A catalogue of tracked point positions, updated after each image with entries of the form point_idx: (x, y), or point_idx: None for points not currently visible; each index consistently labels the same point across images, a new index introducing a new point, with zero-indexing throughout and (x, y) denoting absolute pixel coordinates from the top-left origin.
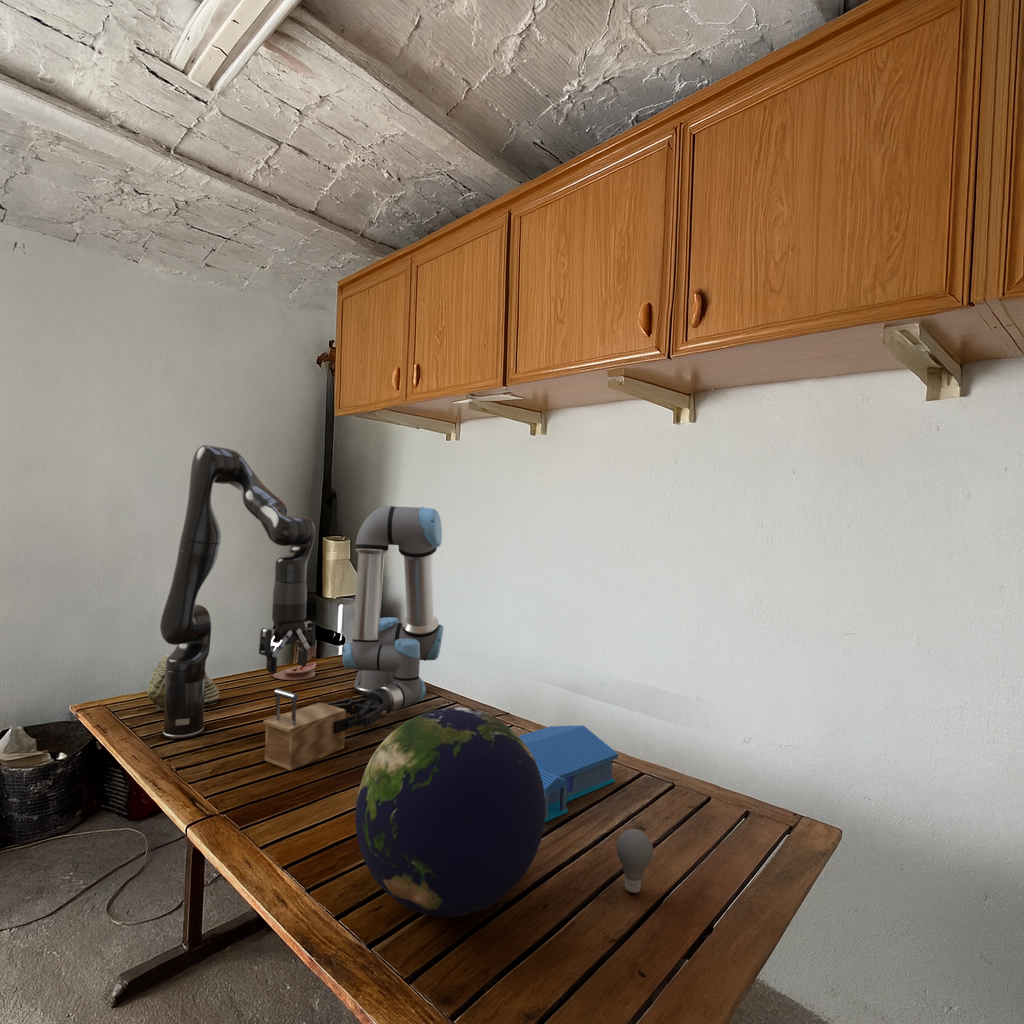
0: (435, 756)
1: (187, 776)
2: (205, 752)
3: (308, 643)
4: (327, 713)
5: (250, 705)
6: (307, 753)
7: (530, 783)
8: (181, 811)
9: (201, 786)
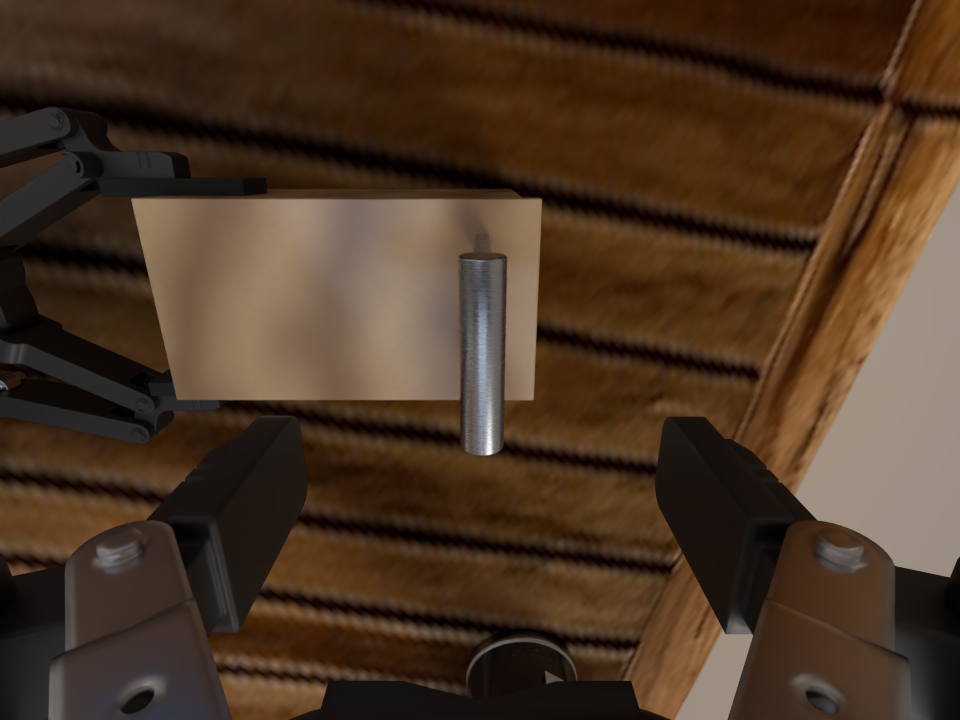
0: None
1: (724, 420)
2: (574, 523)
3: (34, 628)
4: (247, 234)
5: (253, 713)
6: (428, 190)
7: None
8: (918, 220)
9: (757, 327)
